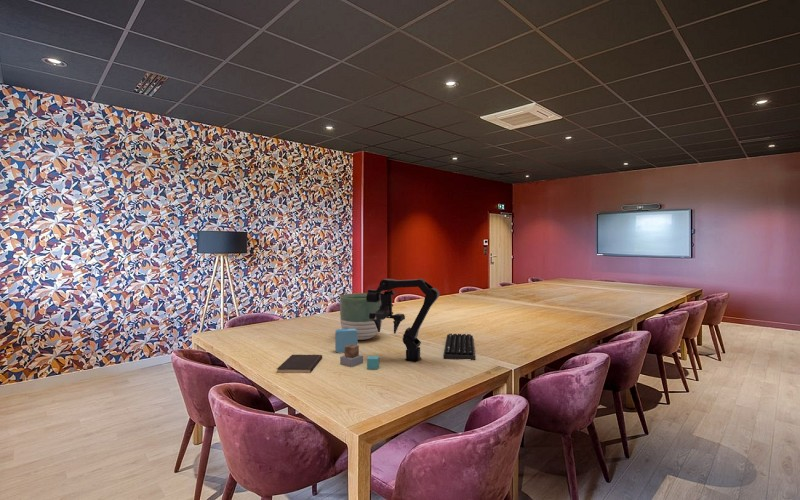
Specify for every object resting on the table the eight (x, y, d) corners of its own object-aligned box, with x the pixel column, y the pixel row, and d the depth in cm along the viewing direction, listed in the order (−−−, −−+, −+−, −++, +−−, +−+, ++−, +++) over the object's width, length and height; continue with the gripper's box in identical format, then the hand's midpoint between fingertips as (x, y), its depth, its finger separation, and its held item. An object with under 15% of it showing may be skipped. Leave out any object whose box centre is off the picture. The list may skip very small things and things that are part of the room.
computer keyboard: (447, 338, 243) (447, 332, 243) (472, 339, 241) (472, 333, 241) (443, 359, 199) (443, 352, 199) (474, 361, 196) (474, 353, 196)
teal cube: (379, 366, 187) (379, 356, 187) (377, 369, 182) (377, 359, 182) (369, 365, 188) (369, 355, 188) (367, 369, 183) (367, 358, 183)
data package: (357, 349, 217) (356, 328, 217) (357, 351, 213) (357, 330, 212) (335, 350, 215) (335, 329, 215) (335, 352, 210) (335, 331, 210)
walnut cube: (358, 355, 193) (358, 345, 193) (353, 358, 188) (353, 347, 188) (350, 354, 195) (350, 344, 195) (344, 356, 191) (344, 346, 191)
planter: (356, 346, 224) (356, 300, 223) (331, 338, 243) (331, 295, 243) (391, 338, 241) (391, 295, 241) (365, 331, 261) (365, 292, 261)
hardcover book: (276, 373, 179) (276, 368, 179) (292, 358, 202) (292, 354, 202) (310, 374, 178) (310, 369, 178) (322, 359, 201) (322, 354, 201)
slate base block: (363, 363, 193) (363, 355, 192) (351, 367, 186) (351, 359, 186) (351, 360, 197) (351, 352, 197) (340, 364, 191) (340, 356, 191)
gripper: (363, 304, 198) (363, 334, 198) (395, 306, 190) (396, 337, 190) (373, 301, 208) (374, 330, 208) (405, 303, 200) (405, 333, 200)
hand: (386, 332), depth 202 cm, fingers open, 9 cm apart
